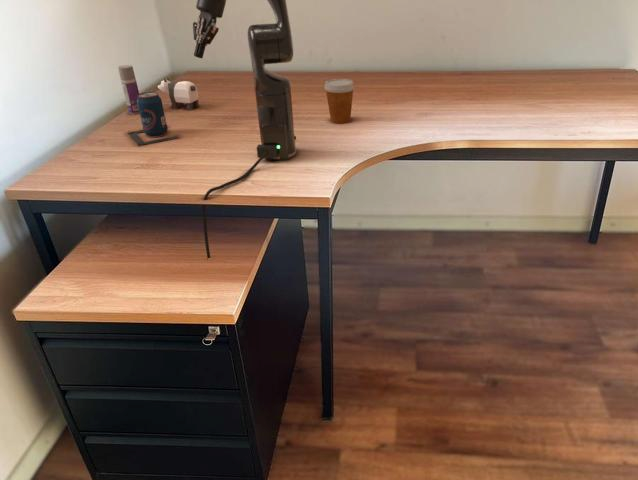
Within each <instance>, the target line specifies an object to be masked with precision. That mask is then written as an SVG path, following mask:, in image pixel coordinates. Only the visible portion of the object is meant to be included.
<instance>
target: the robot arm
mask: <svg viewBox="0 0 638 480" xmlns="http://www.w3.org/2000/svg"><path fill="white" fill-rule="evenodd" d="M266 1H267V2H268V4H269V6H270V8H271V10H272V13H273V15H274V19H275V23H274V22H273V23H259V24H250V25H249V26H248V29H247V45H248V51H249V55H250V61H251V69H252V75H253V84H254V94H255V102H256V103H255V104H256V112H257V119H258V127H259V129H258V130H259V136H260V144H257V146H256V155H257V160H256V162H255V163H253V165H252V166H251V167H250V168H249V169H248V170H247V171H246V172H245V173H244V174H243V175H241V176H239V177H238V178H235V179H232V180H230V181H228V182H227V181H226V183H223V184H221V185H218V186H215V187H212V188H210V189H208V191H206V193H205V195H204V196H203V198H202V201H207V200H208V198H209V195H210V194H211V193H213V192H215V191H218V190H221V189H223V188H226V187H228V186H230V185H234V184H236V183H238V182H240V181H242V180H243V179H245V178H246V177H248V176H249V175H250V174H251V172H252V171H253V170H254V169H256V167H257V166H258V165H259V164H260V163H261V161H262V160H264V159H265V160H266V161H268V160H269V161H282V160H283V161H287V160H289V159H290V158H292V157H294V156H296V155H297V148H296V141H297V136H296V134H295V125H294V111H293V102H292V89H291V88H292V87H291V82H290V79H289V78H288V77H286V76H283V75H280V74H277V73H274V72H272V71H270V70H269V69H267V68H266V67H265V65H273V64H285V63H286V64H287V63H290V62H292V60H293V57H294V42H293V35H292V29H291V23H290V22H291V21H290V18H289V12H288V11H289V10H288V5H287V0H266ZM226 3H227V0H197V1H196V5H195V7H196V8H195V9H196V10H198V11H199V15H198V18H197V19H196V22H195V21H193V22H192V30H193V31H192V33H193V40H194V41H195V43H196V44H195V48H194V52H193V56H194V57H195V58H198V59H203V58H204V54H205V51H206V47H208V45H211V44H212V42H213V40H214V39H215V37H216V35H217V34H218V32H219V30H220V29H219V27H217V26H216V25H217V22H218V21H217V20H218V19H221V18H223V15H224V11H225V7H226ZM217 18H218V19H217ZM201 209H202V221H203V234H204V244H205V251H206V257H207V259H208V258H211V252H210V245H209V236H208V224H207V222H208V221H207V210H206V209H207V208H206V205H202V207H201Z"/></svg>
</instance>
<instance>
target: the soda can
mask: <svg viewBox="0 0 638 480" xmlns="http://www.w3.org/2000/svg"><path fill="white" fill-rule="evenodd" d="M137 104H138V109H139V117H140V121H141V125H142V130H144V132H143V133H144V134H145V135H146V136H147V137H149V138H160V137H163V136H165V135H167V133H168V128H167V127H168V123H167V119H166V115H165V110H164V105H163V100H162V97H160V95H159V93H158V92H156V91H146V92H141V93H139V94H138V99H137Z"/></svg>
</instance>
